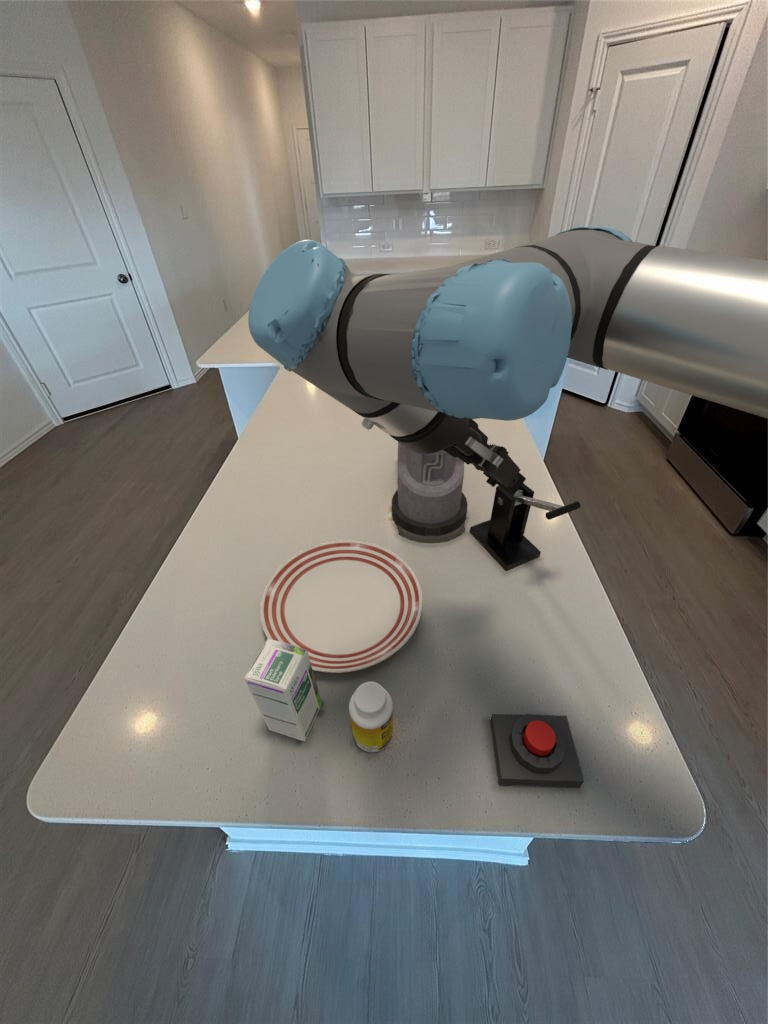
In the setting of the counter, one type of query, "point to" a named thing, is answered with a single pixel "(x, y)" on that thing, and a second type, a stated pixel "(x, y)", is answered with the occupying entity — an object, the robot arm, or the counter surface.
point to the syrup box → (285, 689)
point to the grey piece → (429, 496)
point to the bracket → (507, 530)
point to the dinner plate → (343, 604)
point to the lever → (546, 505)
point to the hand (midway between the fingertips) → (515, 484)
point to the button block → (527, 767)
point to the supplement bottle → (371, 717)
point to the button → (539, 738)
